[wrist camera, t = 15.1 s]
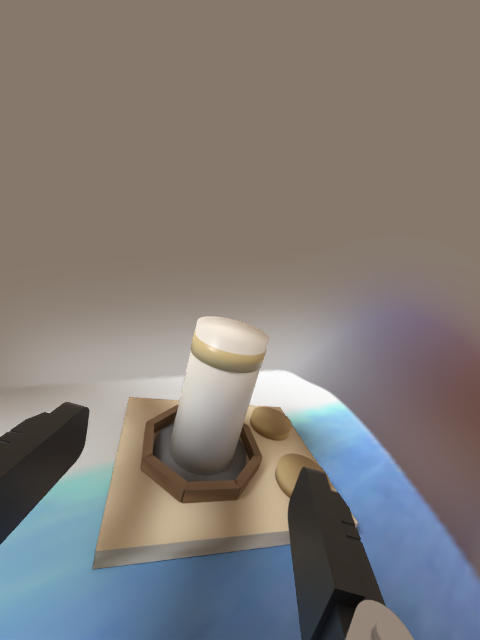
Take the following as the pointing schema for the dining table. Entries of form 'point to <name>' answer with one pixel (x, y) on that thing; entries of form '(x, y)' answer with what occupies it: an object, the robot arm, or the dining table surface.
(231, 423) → the cylinder
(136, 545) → the board
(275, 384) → the dining table surface
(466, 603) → the dining table surface
